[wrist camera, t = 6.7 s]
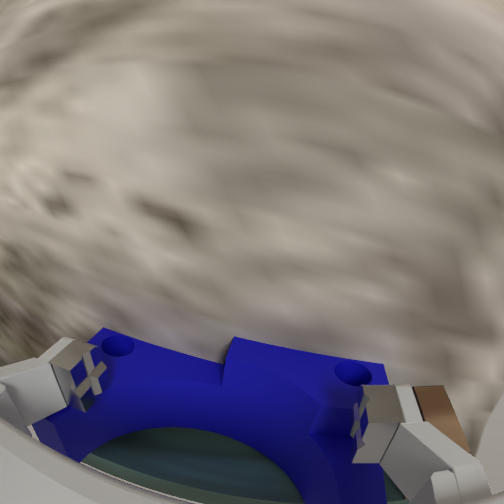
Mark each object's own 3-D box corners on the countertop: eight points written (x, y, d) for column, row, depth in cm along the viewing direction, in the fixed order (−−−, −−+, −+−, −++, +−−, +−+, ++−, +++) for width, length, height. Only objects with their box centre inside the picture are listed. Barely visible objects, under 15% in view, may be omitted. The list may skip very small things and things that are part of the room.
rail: (68, 339, 14) (20, 382, 10) (442, 385, 11) (470, 451, 7) (90, 405, 15) (55, 448, 11) (409, 450, 12) (421, 510, 9)
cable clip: (382, 361, 11) (411, 485, 6) (346, 432, 13) (349, 540, 7) (103, 297, 13) (10, 372, 7) (110, 373, 14) (45, 452, 8)
